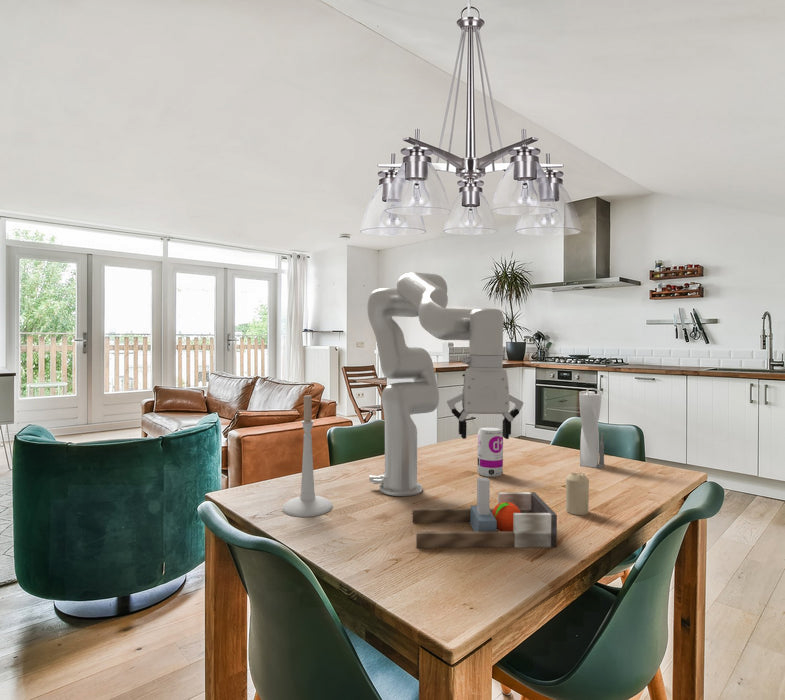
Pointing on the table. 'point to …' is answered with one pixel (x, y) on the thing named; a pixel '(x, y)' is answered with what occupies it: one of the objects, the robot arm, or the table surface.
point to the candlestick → (307, 476)
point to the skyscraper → (590, 430)
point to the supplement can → (490, 452)
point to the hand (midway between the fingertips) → (484, 437)
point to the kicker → (482, 508)
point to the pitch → (528, 531)
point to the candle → (577, 494)
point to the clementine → (505, 515)
